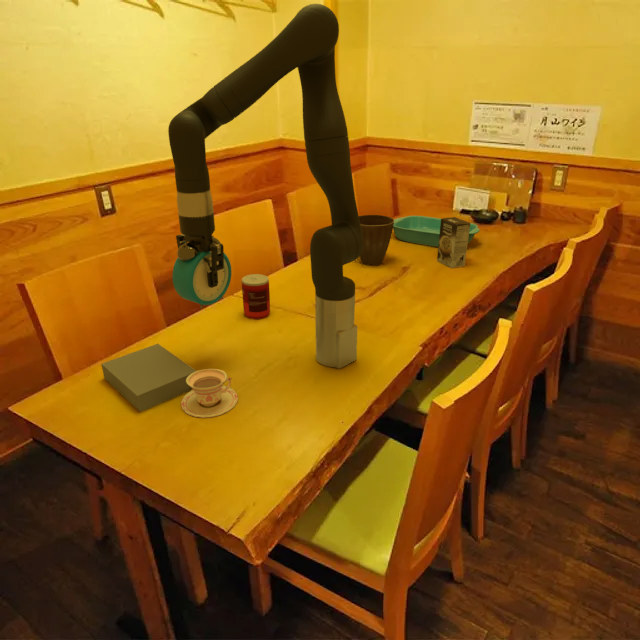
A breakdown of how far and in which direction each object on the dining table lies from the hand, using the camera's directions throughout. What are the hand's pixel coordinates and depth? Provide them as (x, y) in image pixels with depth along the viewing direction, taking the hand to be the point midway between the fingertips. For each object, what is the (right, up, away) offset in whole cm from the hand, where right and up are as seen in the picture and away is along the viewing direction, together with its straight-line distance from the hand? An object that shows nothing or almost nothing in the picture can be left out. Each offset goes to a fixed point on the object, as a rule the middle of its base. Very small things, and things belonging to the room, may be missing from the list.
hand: (203, 282), depth 119 cm
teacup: (+3, -26, -8) cm, 28 cm away
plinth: (-11, -23, -2) cm, 26 cm away
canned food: (+9, -7, +32) cm, 34 cm away
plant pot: (+46, +12, +72) cm, 86 cm away
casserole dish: (+74, +24, +97) cm, 125 cm away
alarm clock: (0, -4, +2) cm, 5 cm away
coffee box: (+75, +12, +71) cm, 104 cm away
